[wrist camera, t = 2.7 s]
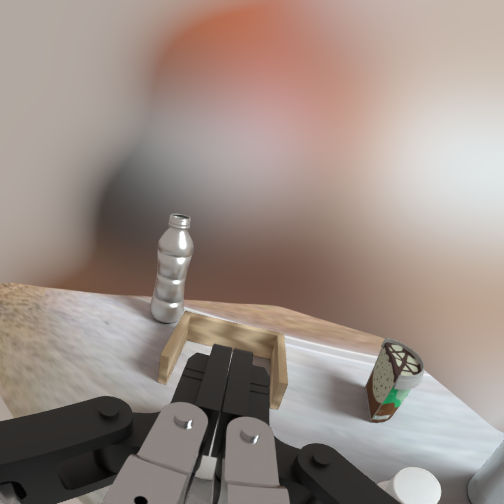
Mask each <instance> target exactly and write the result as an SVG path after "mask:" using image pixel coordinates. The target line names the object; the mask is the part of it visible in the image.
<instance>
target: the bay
mask: <svg viewBox="0 0 504 504" xmlns="http://www.w3.org/2000/svg"><path fill="white" fill-rule="evenodd" d="M186 340H188V341H192V342H196V343H200V344H204V345H208V346H213V344H214V343H215V344H219V345H223V346H227V347H232V351H233V350H234V348H236V349H241V350H245V351H250V352H253V356H258V357H263V358H268V359H270V408H272V409H279V406H280V403H281V401H282V398H283V396H284V393H285V390H286V388H287V385H288V378H287V364H286V351H285V338H284V333H280V332H275V331H270V330H266V329H261V328H256V327H251V326H247V325H242V324H238V323H233V322H229V321H225V320H220V319H216V318H212V317H208V316H204V315H200V314H196V313H192V312H188V311H185V312H184V314H183V315H182V317H181V319H180V321H179V323H178V324H177V326H176V328H175V330H174V332H173V333H172V335H171V337H170V339H169V341H168V342H167V344H166V346H165V348H164V350H163V351H162V353H161V355H160V366H159V378H158V383H162V384H165V385H166V384H167V382H168V380H169V377H170V375H171V373H172V371H173V368H174V366H175V364H176V362H177V360H178V357H179V355H180V353H181V351H182V349H183V346H184V344H185V342H186Z"/></svg>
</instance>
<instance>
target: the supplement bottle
mask: <svg viewBox="0 0 504 504" xmlns="http://www.w3.org/2000/svg"><path fill="white" fill-rule="evenodd" d="M377 485H378V486H379V487H380V488H382V489H383V490H384V491H386V492H387V493H388V494H389V495H391V496H392V497H393V498H395V499H396V500H397V501H399V502H400V503H401V504H437V502H438V501H439V499H440V496H441V487H440V484H439V482H438V480H437V479H436V477H435V476H434V475H432V474H431V473H430V472H428V471H427V470H425V469H422V468H418V467H407V468H404V469H402V470H400V471H399V472H397V473H396V475H395V476H394V477H393V478H392V479H391V480H388V481H383V482H380V483H378V484H377Z"/></svg>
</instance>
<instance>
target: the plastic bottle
mask: <svg viewBox="0 0 504 504" xmlns="http://www.w3.org/2000/svg"><path fill="white" fill-rule="evenodd" d="M190 220H191V218H190V217H189V216H186V215H181V214H171V216H170V221H169V224H168V225H169V226H170V227H169V229H168V230H167V231H166V232H165V233H164V234H163V236H162V237H161V238H160V240H159V243H158V269H157V272H158V273H157V281H156V285H155V290H154V294H153V296H152V300H151V304H150V306H151V313H152V315H153V317H154V318H155V319H156V320H158V321H160V322H164V323H174V322H176V321H178V320H179V319H180V318H181V316H182V314H183V311H184V298H183V297H184V283H185V276H186V273H187V269H188V265H189V262H190V259H191V256H192V253H193V242H192V240H191V237H190V235H189V233H188V229H189V228H190Z"/></svg>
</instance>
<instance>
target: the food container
mask: <svg viewBox="0 0 504 504" xmlns="http://www.w3.org/2000/svg"><path fill="white" fill-rule="evenodd" d="M381 347H382V349H381V351H380V354H379V356H378V358H377V361H376V363H375V366H374V368H373V370H372V373H371V375H370V377H369V379H368V382H367V384H366V386H365V392H366V398H367V404H368V411H369V418H370V422H373V423H379V422H385V421H387V420H389V419H390V418H391V417H392V416H393V414H394V413H395V412H396V410H397V409H398V407H399V406H400V405H401V403H402V402H403V400H404V399H405V398H406V396H407V395H408V393H409V392H410V390H411V389H412V388H415V387H416V386H418V385H419V384H420V382H421V380H422V376H423V373H424V363H423V360H422V359H421V357H420V356H419V355H418V354H417V353H416V352H415V351H414V350H412V349H411V348H410V347H408V346H406V345H405V344H403V343H400V342H398V341H396V340H393V339H390V338H386V339H385V340H384V342H383V344H382V345H381Z"/></svg>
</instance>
